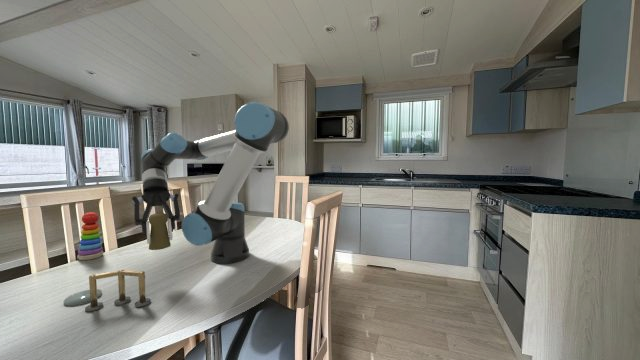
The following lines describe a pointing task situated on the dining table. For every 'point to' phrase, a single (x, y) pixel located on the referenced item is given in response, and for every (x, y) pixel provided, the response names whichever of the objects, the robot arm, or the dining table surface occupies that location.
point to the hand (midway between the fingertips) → (160, 239)
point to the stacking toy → (90, 238)
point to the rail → (121, 282)
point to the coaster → (80, 298)
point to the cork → (159, 232)
